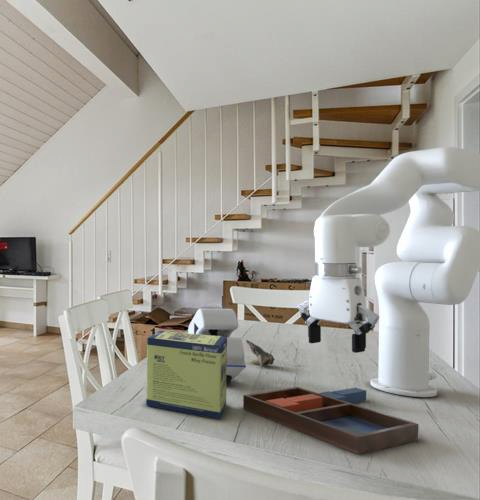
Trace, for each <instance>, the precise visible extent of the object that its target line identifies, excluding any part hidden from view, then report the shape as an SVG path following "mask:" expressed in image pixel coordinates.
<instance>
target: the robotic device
mask: <svg viewBox="0 0 480 500" xmlns="http://www.w3.org/2000/svg"><path fill="white" fill-rule="evenodd" d="M237 317H238V316H237V313H236V311H235V310H234V309H233V308H217V307H216V308H213V307H212V308H208V307H207V308H206V307H205V308H204V307H201V308H198V309H197V310H196V313H195V314H194V316H193V318H192V319H191V321H190V323H189V325H188V329H187V333H190V334H201V335H211V336H223V337H227V374H226V386H228V385H230V383H231V382H232V381H234V380H235V379H236V378H237V377H238V376H239V375H240V374H241V373H242V372H243V371H244V370H245V369H246V367H247V365H246V362H245V350H244V345H243V339H242V338H241V337H230V336H231V335H232V333H233V332H234V331H236V330H237V329H239V321H238V318H237Z"/></svg>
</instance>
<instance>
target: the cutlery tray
mask: <svg viewBox="0 0 480 500" xmlns="http://www.w3.org/2000/svg"><path fill="white" fill-rule="evenodd" d="M319 393H320V392H316V391H312V390H310V389H306V388H303V387H300V386H294V387H293V386H292V387H287V388H280V389H276V390H275V389H274V390H267V391H261V392H254V393H247V394H243V395H242V397H243V398H242V409H243V410H245V411H248V412H250V413H253V414H255V415H258V416H260V417H262V418H265V419H267V420H270V421H272V422H274V423H278V424H281V425H282V426H285V427H288V428H289V429H292V430H295V431H298V432H299V433H302V434H305V435H307V436H310V437H312V438H315V439H318V440H320V441H323V442H325V443H327V444H330V445H333V446H335V447H338V448H340V449H342V450H345V451H347V452H350V453H353V454H355V455H358V456H359V455H363V454H367V453H371V452H375V451H380V450H384V449H388V448H392V447H397V446H401V445H405V444H408V443H413V442H417V441H419V423H417V422H414V421H410V420H407V419H404V418H401V417H397V416H393V415H390V414H387V413H384V412H381V411H378V410H375V409H371V408H369V407H365V406H361V405H359V404H356V403H349V402H345V401H342V400H339V399H336V398H332V397H329V396H326V395H323V394H319ZM308 394H314V395H317V396H321V397H323V408H318V409H312V410H306V411H301V412H292V411H290V410H287V409H284V408H281V407H279V406H276V405H273V404H270V403H268V402H266V401H267V400H273V399H279V398H284V399H286V398H290V397H296V396H302V395H308Z"/></svg>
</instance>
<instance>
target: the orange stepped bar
mask: <svg viewBox="0 0 480 500" xmlns="http://www.w3.org/2000/svg"><path fill="white" fill-rule="evenodd" d="M266 402H268V403H270V404H273V405H276V406H279V407H281V408H284V409H287V410H290V411H292V412H301V411H306V410H312V409H318V408H323V397H321V396H317V395H314V394H308V395H302V396H296V397H290V398H286V399H284V398H279V399H273V400H267V401H266Z"/></svg>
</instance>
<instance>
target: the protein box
mask: <svg viewBox="0 0 480 500" xmlns="http://www.w3.org/2000/svg"><path fill="white" fill-rule="evenodd" d="M226 374H227V337H223V336H211V335H201V334H190V333H188V332H178V331H170V330H158V331H156V332H154V333H153V334H151V335H150V336H148V337H147V338H146V389H145V390H146V396H145V397H146V398H145V405H146V406H147V407H151V408H152V407H153V408H157V409H161V410H168V411H172V412H177V413H178V412H179V413H184V414H188V415H194V416H199V417H205V418H211V419H215V420H220V419H221V417H222V415H223V413H224V411H225V409H226V406H227V385H226Z"/></svg>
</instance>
